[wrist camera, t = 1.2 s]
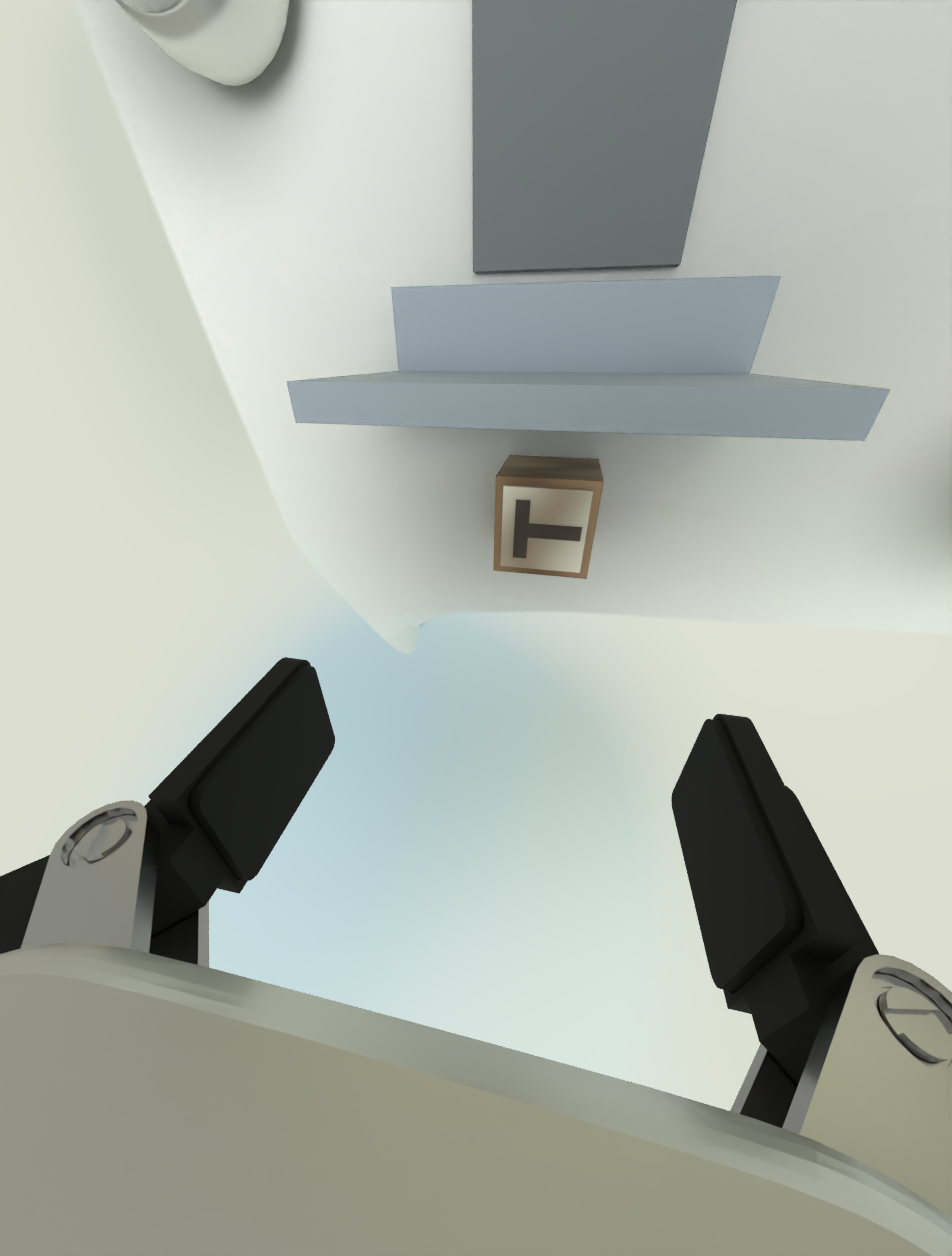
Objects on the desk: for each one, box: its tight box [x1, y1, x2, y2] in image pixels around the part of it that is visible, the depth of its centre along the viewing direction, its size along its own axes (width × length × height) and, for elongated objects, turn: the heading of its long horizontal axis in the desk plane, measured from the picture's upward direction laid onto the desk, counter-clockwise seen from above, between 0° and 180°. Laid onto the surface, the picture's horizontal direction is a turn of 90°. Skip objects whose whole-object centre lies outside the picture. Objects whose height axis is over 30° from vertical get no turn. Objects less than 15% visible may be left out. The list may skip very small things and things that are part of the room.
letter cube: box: [494, 455, 603, 579], centre depth 22 cm, size 5×5×5 cm
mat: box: [472, 0, 737, 273], centre depth 15 cm, size 9×9×1 cm
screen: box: [287, 276, 890, 441], centre depth 15 cm, size 17×5×11 cm, turn 89°
